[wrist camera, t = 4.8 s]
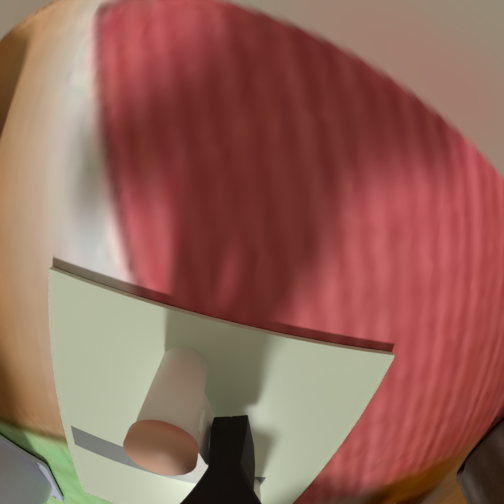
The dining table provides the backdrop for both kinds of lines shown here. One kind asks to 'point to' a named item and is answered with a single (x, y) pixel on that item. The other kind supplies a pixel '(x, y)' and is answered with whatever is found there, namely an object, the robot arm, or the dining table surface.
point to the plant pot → (485, 470)
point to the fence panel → (174, 418)
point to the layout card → (217, 389)
